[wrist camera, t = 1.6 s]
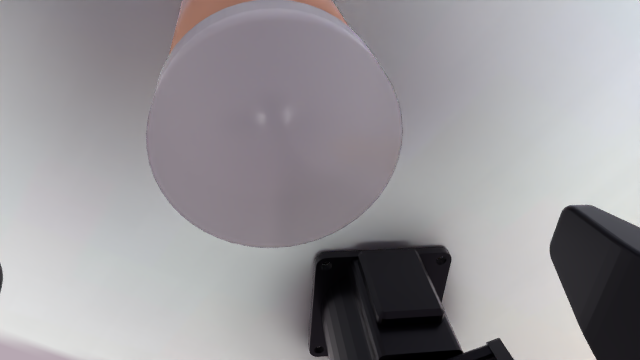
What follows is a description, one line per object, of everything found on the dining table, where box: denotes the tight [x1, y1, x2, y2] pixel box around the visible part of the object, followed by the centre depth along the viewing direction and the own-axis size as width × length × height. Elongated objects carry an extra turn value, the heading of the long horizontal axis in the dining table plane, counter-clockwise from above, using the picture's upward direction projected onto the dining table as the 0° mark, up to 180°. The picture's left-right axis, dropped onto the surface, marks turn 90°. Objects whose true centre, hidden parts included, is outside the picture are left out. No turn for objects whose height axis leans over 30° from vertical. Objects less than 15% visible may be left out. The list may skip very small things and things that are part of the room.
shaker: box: [146, 0, 402, 248], centre depth 16 cm, size 5×5×10 cm
